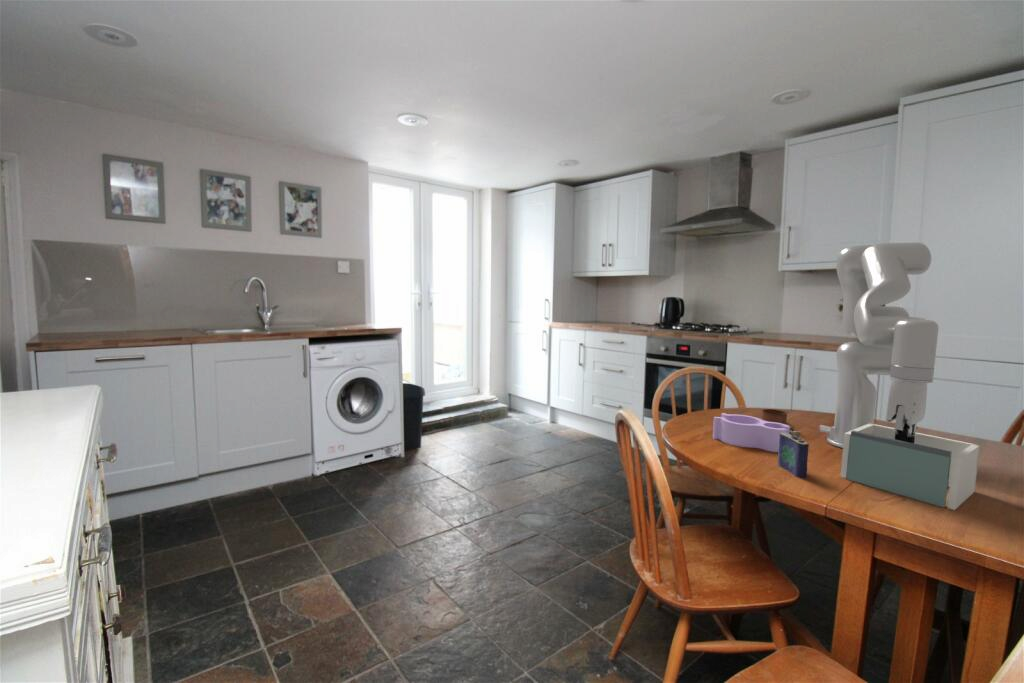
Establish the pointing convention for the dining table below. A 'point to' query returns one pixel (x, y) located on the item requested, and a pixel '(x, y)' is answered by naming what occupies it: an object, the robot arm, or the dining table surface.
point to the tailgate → (899, 467)
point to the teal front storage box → (962, 452)
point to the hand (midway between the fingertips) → (903, 451)
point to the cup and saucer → (776, 417)
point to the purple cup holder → (748, 431)
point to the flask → (793, 454)
